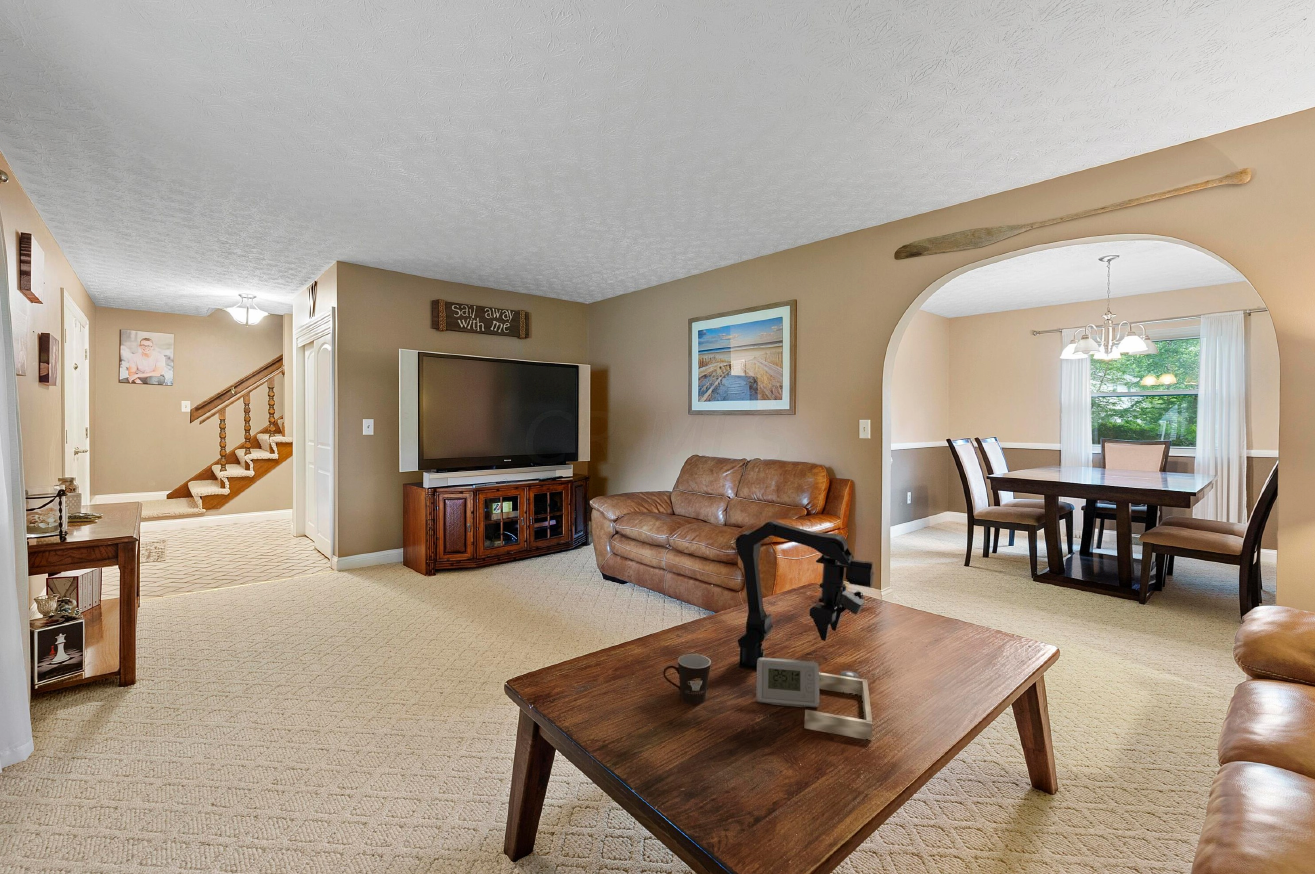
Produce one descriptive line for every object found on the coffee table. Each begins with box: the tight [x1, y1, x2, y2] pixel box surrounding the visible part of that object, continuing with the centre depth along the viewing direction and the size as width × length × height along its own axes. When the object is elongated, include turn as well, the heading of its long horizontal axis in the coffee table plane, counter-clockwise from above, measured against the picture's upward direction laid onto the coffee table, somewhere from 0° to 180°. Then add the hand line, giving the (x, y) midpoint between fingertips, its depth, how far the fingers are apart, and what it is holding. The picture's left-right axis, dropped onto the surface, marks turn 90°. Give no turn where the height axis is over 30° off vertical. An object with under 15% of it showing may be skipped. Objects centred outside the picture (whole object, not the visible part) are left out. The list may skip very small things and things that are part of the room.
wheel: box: [839, 670, 860, 679], centre depth 167 cm, size 5×5×2 cm
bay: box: [803, 671, 874, 741], centre depth 150 cm, size 15×23×4 cm, turn 164°
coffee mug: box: [662, 653, 712, 706], centre depth 154 cm, size 12×9×10 cm
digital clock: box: [755, 657, 820, 708], centre depth 154 cm, size 16×9×11 cm, turn 72°
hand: (828, 635), depth 164 cm, fingers open, 9 cm apart
